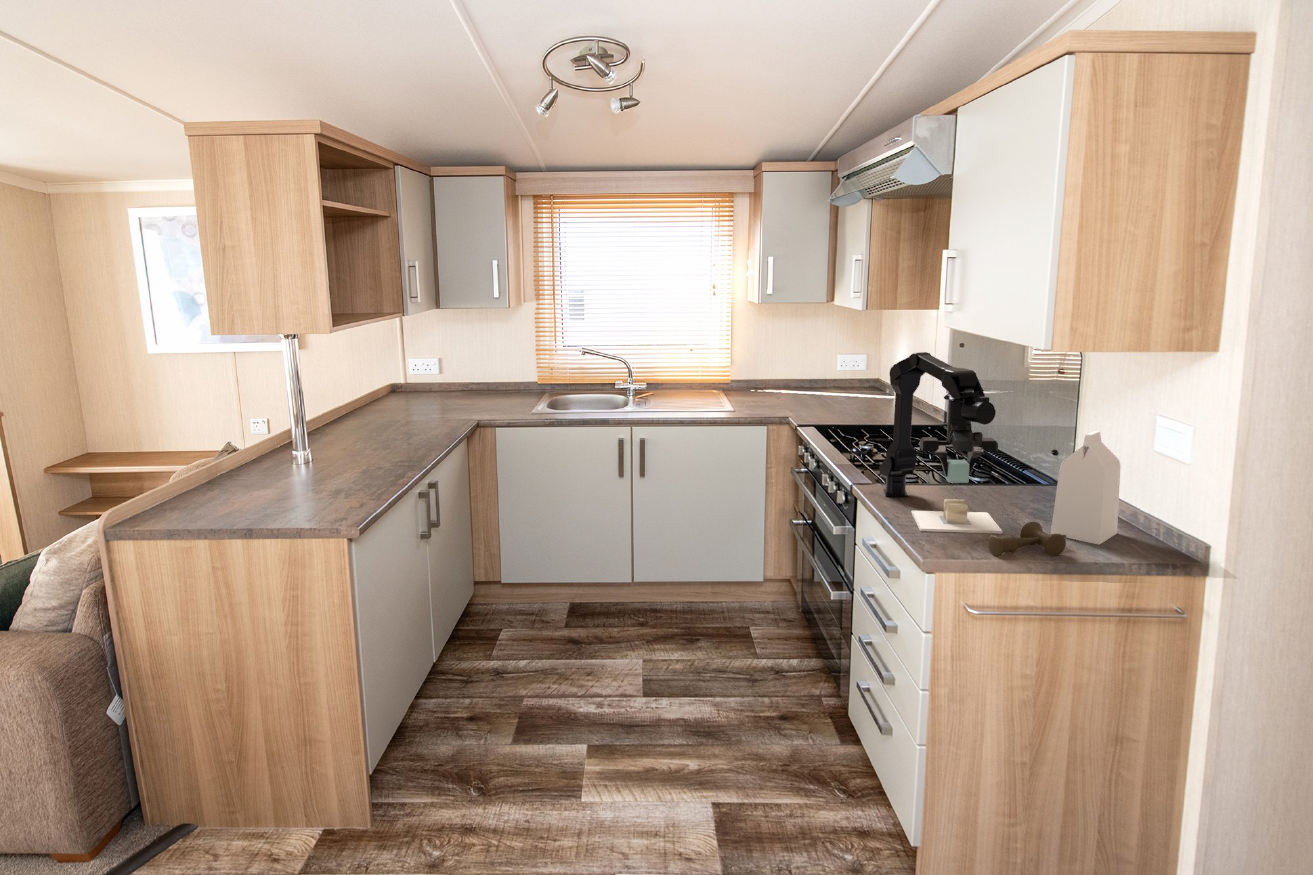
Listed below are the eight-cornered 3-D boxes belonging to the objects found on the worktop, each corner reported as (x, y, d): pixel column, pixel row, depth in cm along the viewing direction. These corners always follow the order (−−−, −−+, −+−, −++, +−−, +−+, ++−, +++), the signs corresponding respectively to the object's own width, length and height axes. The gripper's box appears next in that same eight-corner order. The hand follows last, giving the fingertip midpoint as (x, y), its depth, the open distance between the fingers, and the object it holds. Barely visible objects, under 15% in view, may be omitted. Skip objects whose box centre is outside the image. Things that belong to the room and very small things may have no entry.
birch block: (943, 516, 216) (944, 499, 215) (962, 517, 216) (963, 499, 215) (946, 522, 212) (947, 504, 211) (966, 523, 211) (967, 504, 210)
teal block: (945, 477, 216) (945, 459, 215) (964, 478, 215) (965, 459, 214) (948, 482, 211) (949, 463, 210) (968, 482, 210) (969, 464, 209)
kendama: (979, 551, 194) (1051, 540, 199) (1005, 565, 185) (1079, 554, 190) (980, 527, 193) (1052, 517, 197) (1006, 541, 184) (1081, 530, 188)
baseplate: (911, 512, 223) (911, 510, 223) (987, 514, 220) (987, 512, 220) (920, 531, 208) (920, 528, 208) (1002, 533, 204) (1002, 530, 204)
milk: (1069, 523, 211) (1077, 426, 206) (1117, 533, 203) (1126, 432, 198) (1050, 534, 203) (1058, 433, 198) (1099, 544, 195) (1109, 439, 190)
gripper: (927, 423, 204) (925, 483, 207) (1005, 423, 201) (1001, 484, 204) (920, 416, 214) (918, 473, 217) (994, 416, 211) (991, 474, 214)
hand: (956, 476), depth 213 cm, fingers closed on teal block, 5 cm apart
